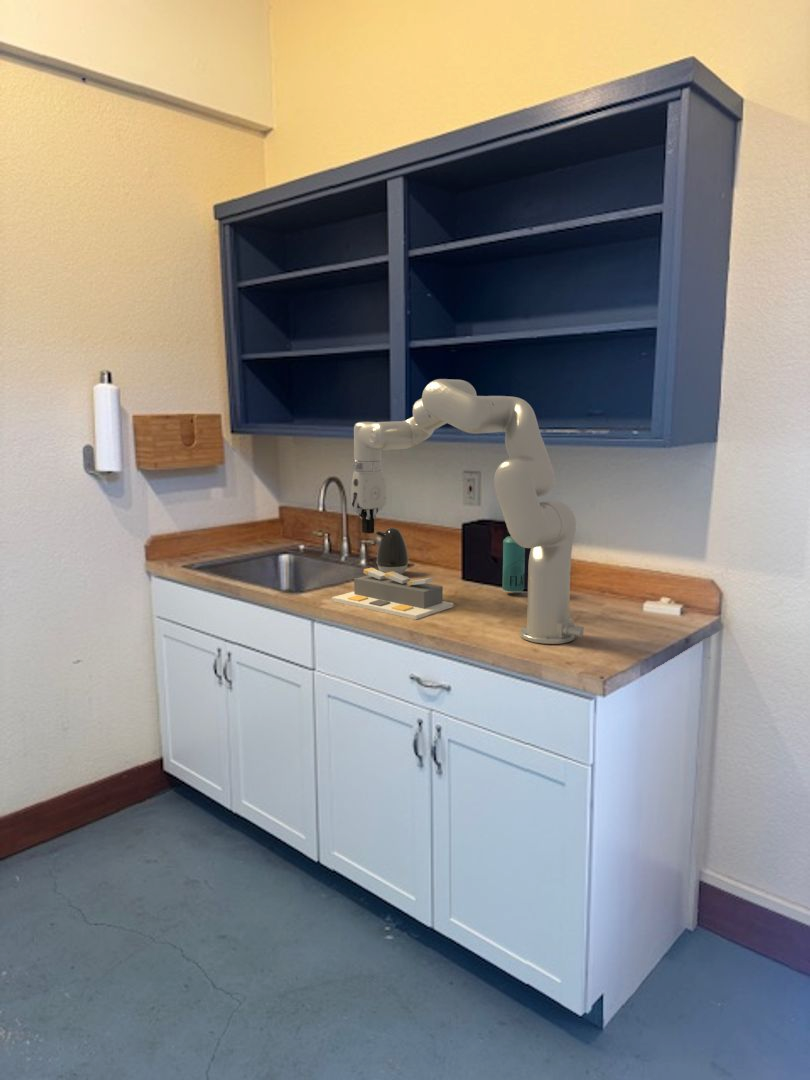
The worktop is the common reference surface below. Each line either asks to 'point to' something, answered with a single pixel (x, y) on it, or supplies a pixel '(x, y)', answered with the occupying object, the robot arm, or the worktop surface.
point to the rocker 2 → (419, 581)
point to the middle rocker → (397, 577)
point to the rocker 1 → (374, 573)
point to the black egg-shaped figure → (392, 552)
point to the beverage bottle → (513, 565)
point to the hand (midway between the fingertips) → (368, 532)
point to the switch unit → (395, 597)
